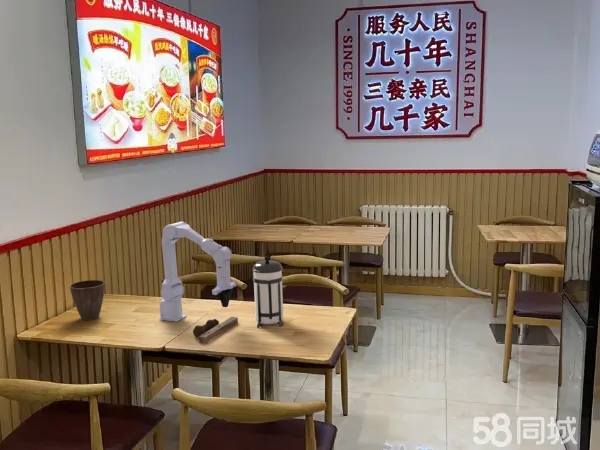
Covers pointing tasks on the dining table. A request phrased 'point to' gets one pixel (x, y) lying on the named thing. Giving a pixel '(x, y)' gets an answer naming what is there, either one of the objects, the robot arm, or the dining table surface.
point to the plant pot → (88, 298)
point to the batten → (218, 330)
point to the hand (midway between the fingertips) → (225, 306)
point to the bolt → (205, 327)
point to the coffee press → (268, 292)
